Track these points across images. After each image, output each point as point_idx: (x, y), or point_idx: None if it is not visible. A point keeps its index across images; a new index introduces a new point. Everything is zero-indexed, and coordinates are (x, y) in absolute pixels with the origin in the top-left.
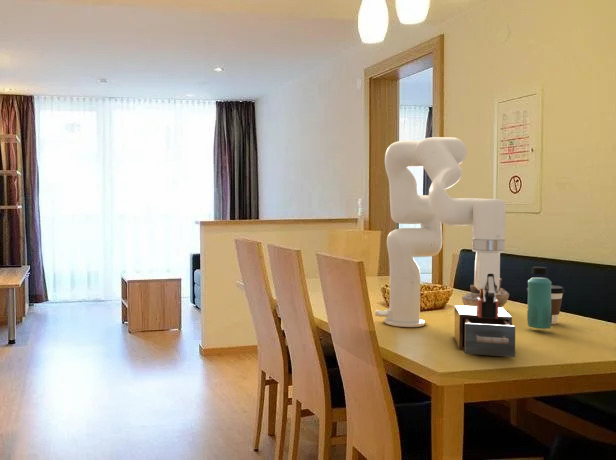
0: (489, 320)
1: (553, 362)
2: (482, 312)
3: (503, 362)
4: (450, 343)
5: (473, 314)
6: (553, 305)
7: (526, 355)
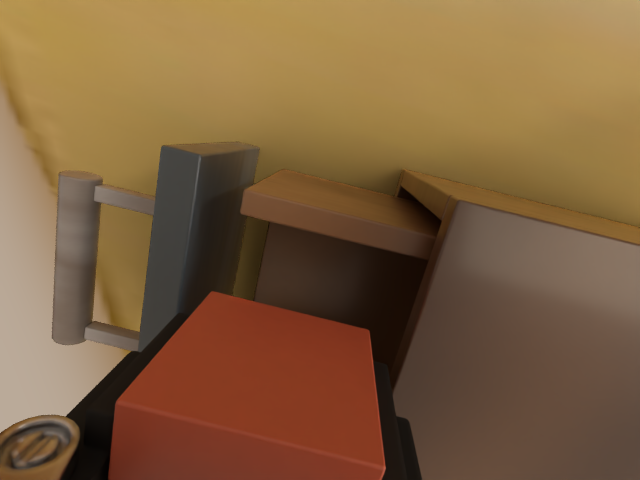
0: None
1: None
2: (159, 336)
3: None
4: (544, 167)
5: (444, 324)
6: None
7: None
